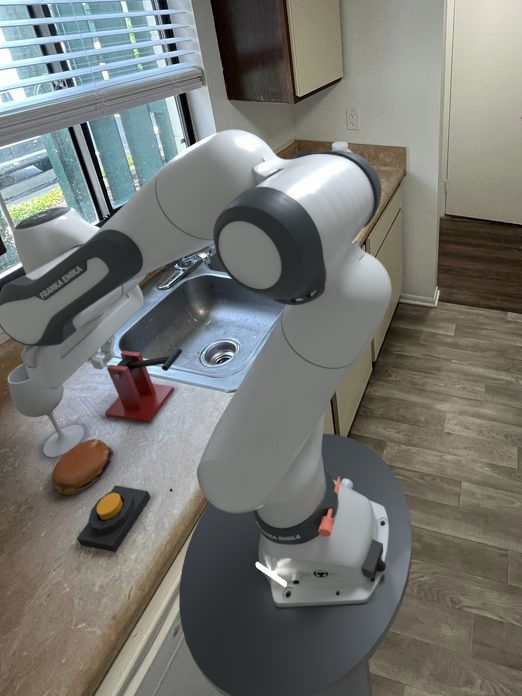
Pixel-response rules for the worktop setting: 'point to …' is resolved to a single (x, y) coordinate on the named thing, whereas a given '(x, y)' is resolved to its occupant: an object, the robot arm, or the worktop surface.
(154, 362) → the lever
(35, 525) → the worktop surface
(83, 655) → the worktop surface
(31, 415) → the wineglass
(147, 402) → the bracket
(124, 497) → the button box
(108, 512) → the button
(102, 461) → the burger
